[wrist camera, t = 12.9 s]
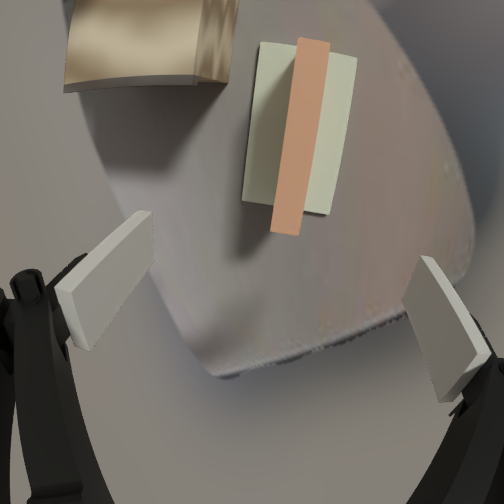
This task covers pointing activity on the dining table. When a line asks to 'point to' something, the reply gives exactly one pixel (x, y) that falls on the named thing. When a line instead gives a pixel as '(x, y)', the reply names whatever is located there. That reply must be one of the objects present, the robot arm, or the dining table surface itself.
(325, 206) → the mat
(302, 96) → the tan rectangular slab
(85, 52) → the brown boxy piece
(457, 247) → the dining table surface
